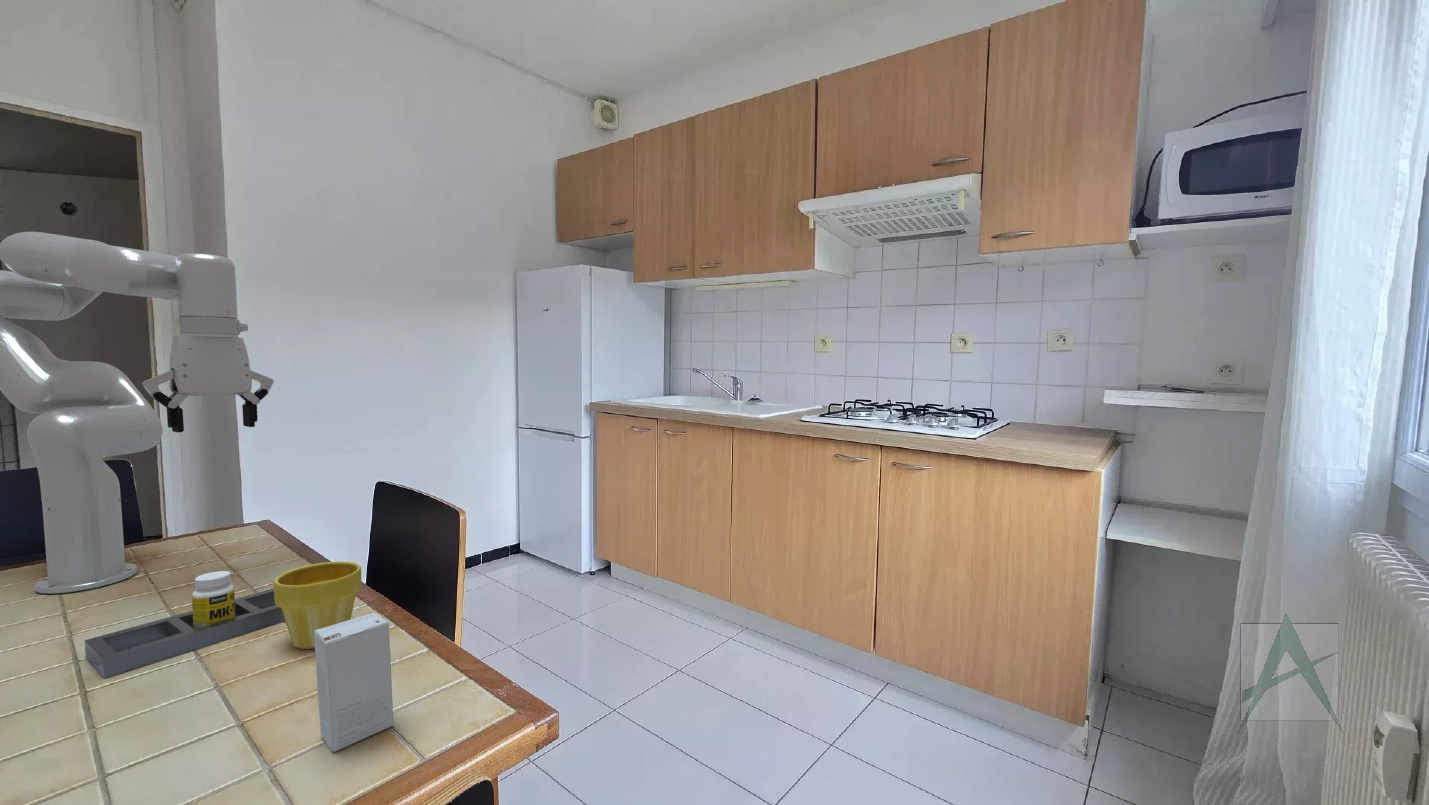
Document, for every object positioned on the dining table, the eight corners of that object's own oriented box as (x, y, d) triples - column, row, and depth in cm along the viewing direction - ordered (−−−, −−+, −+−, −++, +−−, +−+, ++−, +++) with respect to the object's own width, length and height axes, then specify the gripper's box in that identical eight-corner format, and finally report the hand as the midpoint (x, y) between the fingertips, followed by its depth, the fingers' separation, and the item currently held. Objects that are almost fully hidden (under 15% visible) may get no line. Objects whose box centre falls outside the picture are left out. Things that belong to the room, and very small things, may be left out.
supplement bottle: (210, 640, 83) (208, 582, 82) (184, 636, 84) (181, 580, 83) (244, 625, 88) (241, 571, 87) (219, 622, 89) (216, 568, 88)
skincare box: (379, 712, 66) (376, 609, 65) (395, 728, 63) (392, 620, 62) (316, 738, 61) (311, 628, 61) (330, 757, 59) (326, 641, 58)
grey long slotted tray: (85, 657, 78) (84, 640, 78) (298, 595, 99) (297, 581, 99) (104, 678, 73) (103, 660, 73) (324, 608, 94) (323, 594, 93)
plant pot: (330, 618, 90) (327, 556, 90) (379, 628, 87) (377, 564, 86) (258, 648, 80) (255, 580, 80) (311, 662, 77) (308, 590, 76)
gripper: (261, 331, 107) (265, 423, 109) (132, 326, 93) (139, 432, 94) (278, 330, 103) (283, 426, 104) (146, 325, 89) (153, 435, 90)
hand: (215, 429), depth 99 cm, fingers open, 9 cm apart
